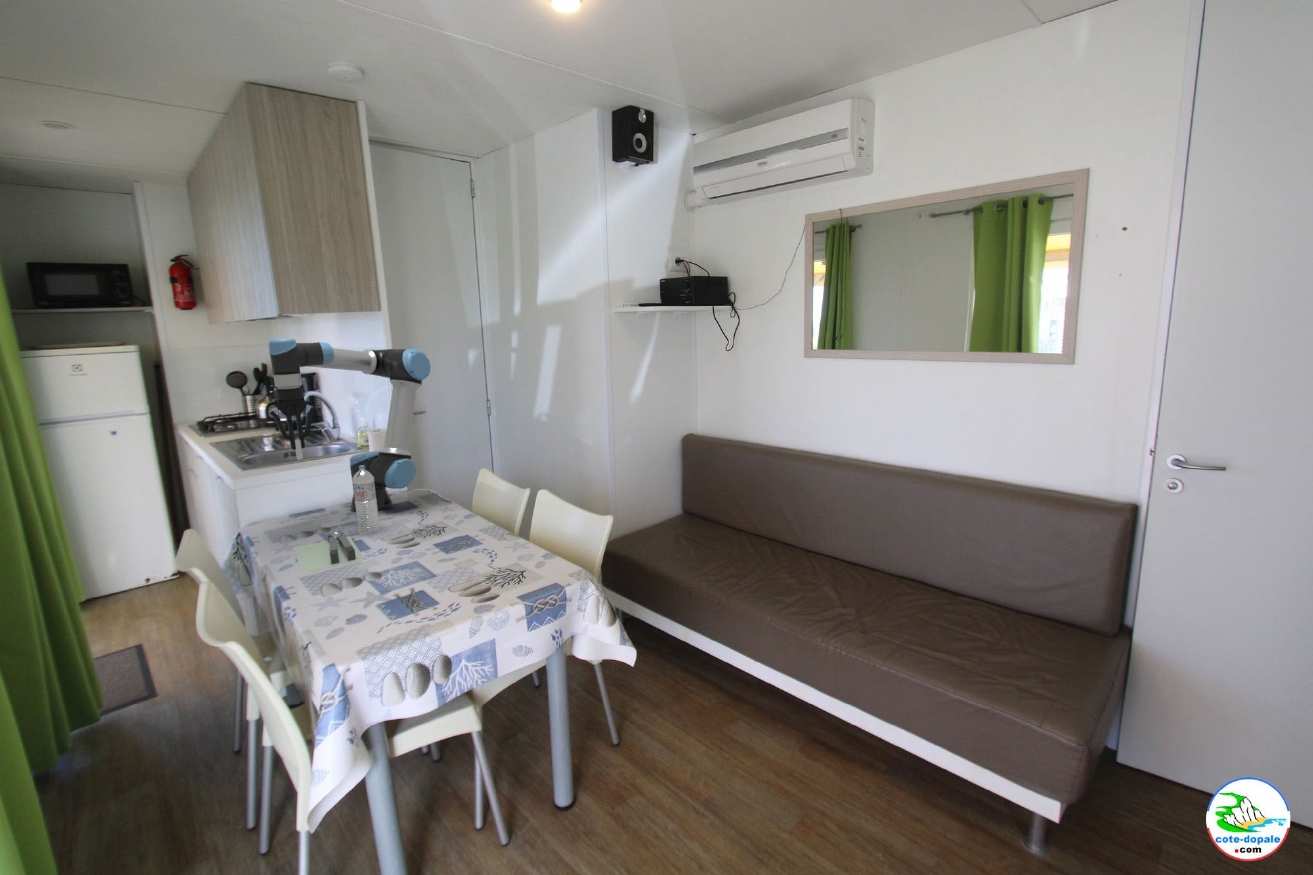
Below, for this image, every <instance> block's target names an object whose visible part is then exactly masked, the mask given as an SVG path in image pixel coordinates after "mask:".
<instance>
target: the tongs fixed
mask: <svg viewBox="0 0 1313 875" xmlns="http://www.w3.org/2000/svg"><path fill="white" fill-rule="evenodd" d="M330 537H336V540H337V544H339V545H340V547H341V548H342V550H343V552H344V553H345V555H346V557H347V559H348V560H352V559H356V556H355V549H354V548H353V546H352V545H351V544H350V542H349V541H348V539H347V538H346V537H347V536H346V535H345V534H344V532H343V530H342V529H341V530H335V531H331V532H326V539H327V540H326V541H328V542H330V541H329V538H330Z"/></svg>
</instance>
